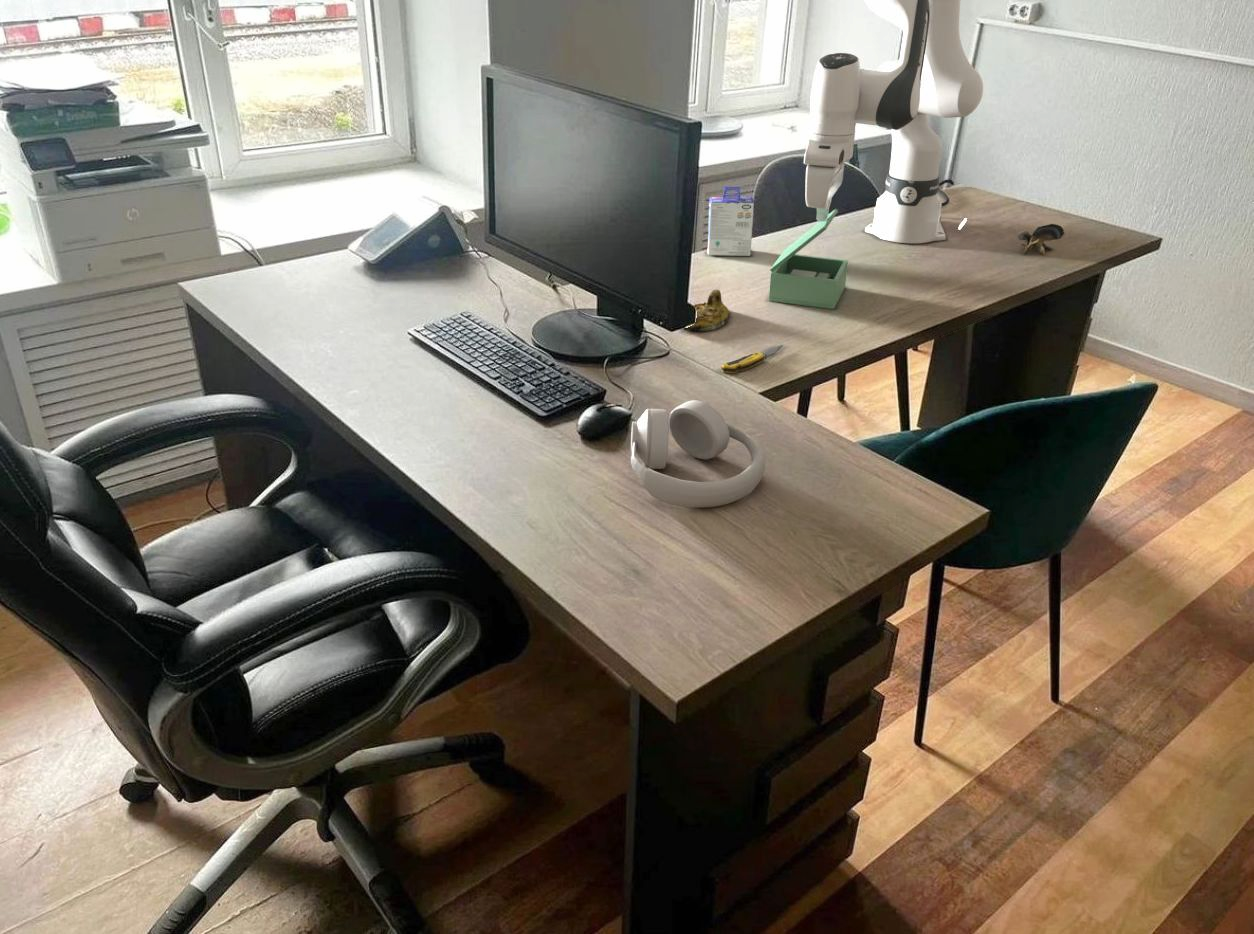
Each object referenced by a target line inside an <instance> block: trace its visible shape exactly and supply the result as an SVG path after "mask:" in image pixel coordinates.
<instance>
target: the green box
mask: <svg viewBox="0 0 1254 934" xmlns="http://www.w3.org/2000/svg"><path fill="white" fill-rule="evenodd" d="M848 264H849V260H848V259H841V258H839V259H838V258H831V257H821V256H812V255H805V254H797V253H796V254H795V255H793V256H792V257H791V258H790V259H788V260H787V261H786V262H785V263H783V264H782V265H781V266H780V267H778V268H777V269H776V270H775V271H773V272H771V271H770V279H769V290H768V291H769V292H768V302H774V303H775V302H776V303H783V304H791V305H796V306H797V305H799V306H805V307H814V308H822V309H830V310H834V309H835V308H836V306H837V303H838V302H839V300H840V298H841V297H842V294H843V292H844V290H845V289H846V283H847V275H848V274H847V273H848V267H849V265H848ZM791 269H795V270H803V271H812V272H820V273H829V274H832V279H826V278H817V277H809V276H801V275H792V274H788V273H789V271H790V270H791Z"/></svg>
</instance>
